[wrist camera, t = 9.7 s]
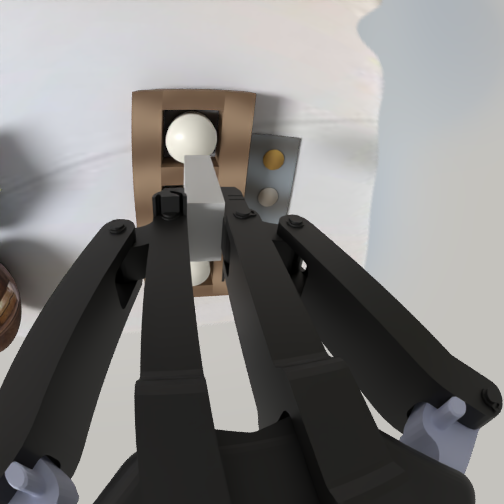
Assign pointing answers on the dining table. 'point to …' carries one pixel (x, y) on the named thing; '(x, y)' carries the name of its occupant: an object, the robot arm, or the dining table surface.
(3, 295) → the wooden sphere
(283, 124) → the dining table surface
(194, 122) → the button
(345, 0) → the dining table surface
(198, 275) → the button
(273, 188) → the button board
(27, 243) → the dining table surface
